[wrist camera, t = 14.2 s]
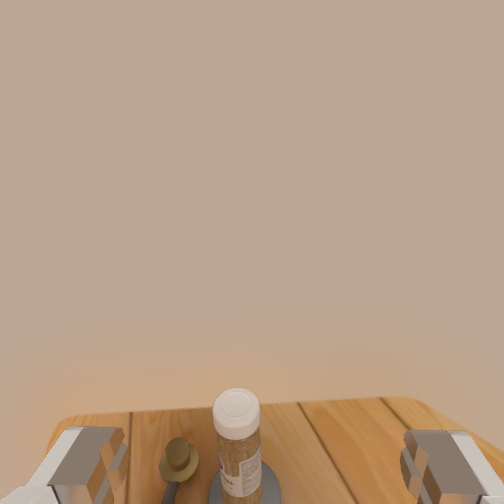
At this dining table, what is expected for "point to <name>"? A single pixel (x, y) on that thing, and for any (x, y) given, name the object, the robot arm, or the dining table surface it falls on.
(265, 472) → the grey oval pebble
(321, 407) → the dining table surface
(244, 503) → the spice jar
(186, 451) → the balance
